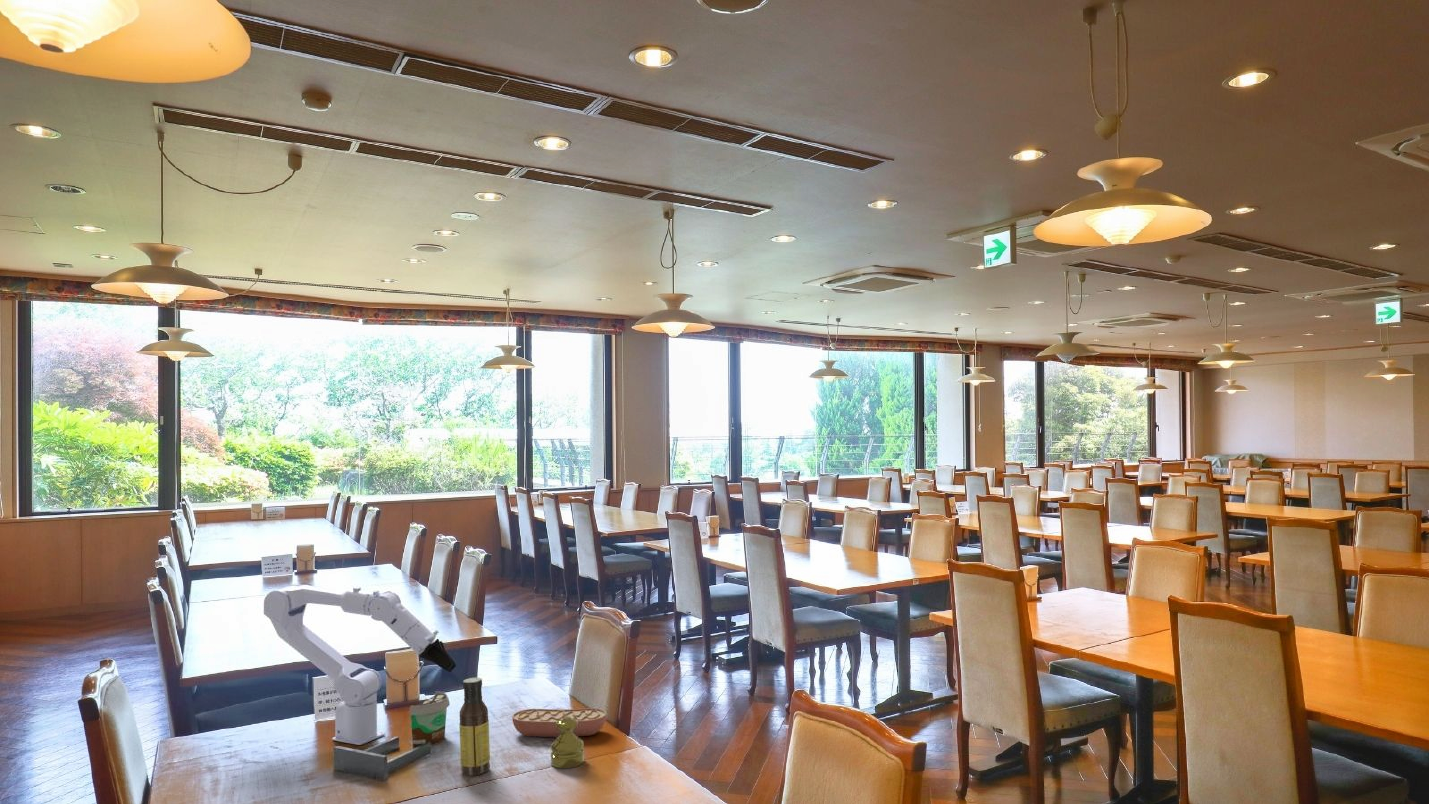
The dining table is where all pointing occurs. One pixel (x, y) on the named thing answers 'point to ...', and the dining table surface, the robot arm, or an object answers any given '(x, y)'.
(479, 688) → the sauce bottle
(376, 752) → the dock
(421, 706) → the food container
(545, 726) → the terracotta bread basket
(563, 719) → the olive rounded piece
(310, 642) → the robot arm
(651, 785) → the dining table surface
